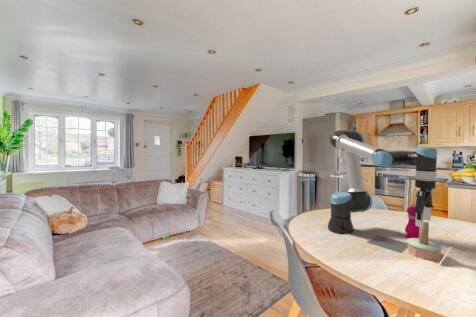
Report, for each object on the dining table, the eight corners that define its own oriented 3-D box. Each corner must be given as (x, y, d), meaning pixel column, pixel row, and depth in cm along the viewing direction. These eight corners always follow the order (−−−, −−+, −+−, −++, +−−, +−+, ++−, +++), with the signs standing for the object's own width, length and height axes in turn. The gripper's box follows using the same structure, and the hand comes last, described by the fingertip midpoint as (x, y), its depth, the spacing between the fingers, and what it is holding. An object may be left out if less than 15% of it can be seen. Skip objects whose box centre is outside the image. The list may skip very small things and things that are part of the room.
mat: (366, 243, 121) (366, 242, 121) (377, 236, 131) (377, 235, 131) (401, 254, 109) (401, 252, 109) (411, 245, 118) (411, 244, 118)
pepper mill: (414, 242, 122) (415, 206, 122) (401, 237, 129) (402, 203, 128) (424, 240, 124) (425, 205, 123) (411, 235, 131) (411, 202, 130)
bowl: (404, 254, 108) (404, 244, 108) (411, 247, 116) (412, 238, 116) (436, 264, 99) (437, 253, 99) (442, 255, 106) (442, 245, 106)
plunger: (402, 244, 108) (403, 222, 108) (411, 237, 116) (411, 216, 116) (438, 253, 98) (438, 229, 98) (444, 245, 106) (445, 223, 106)
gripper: (428, 183, 95) (426, 231, 97) (441, 178, 111) (439, 219, 112) (407, 181, 101) (405, 226, 102) (422, 176, 116) (420, 216, 118)
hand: (423, 223), depth 107 cm, fingers open, 13 cm apart
